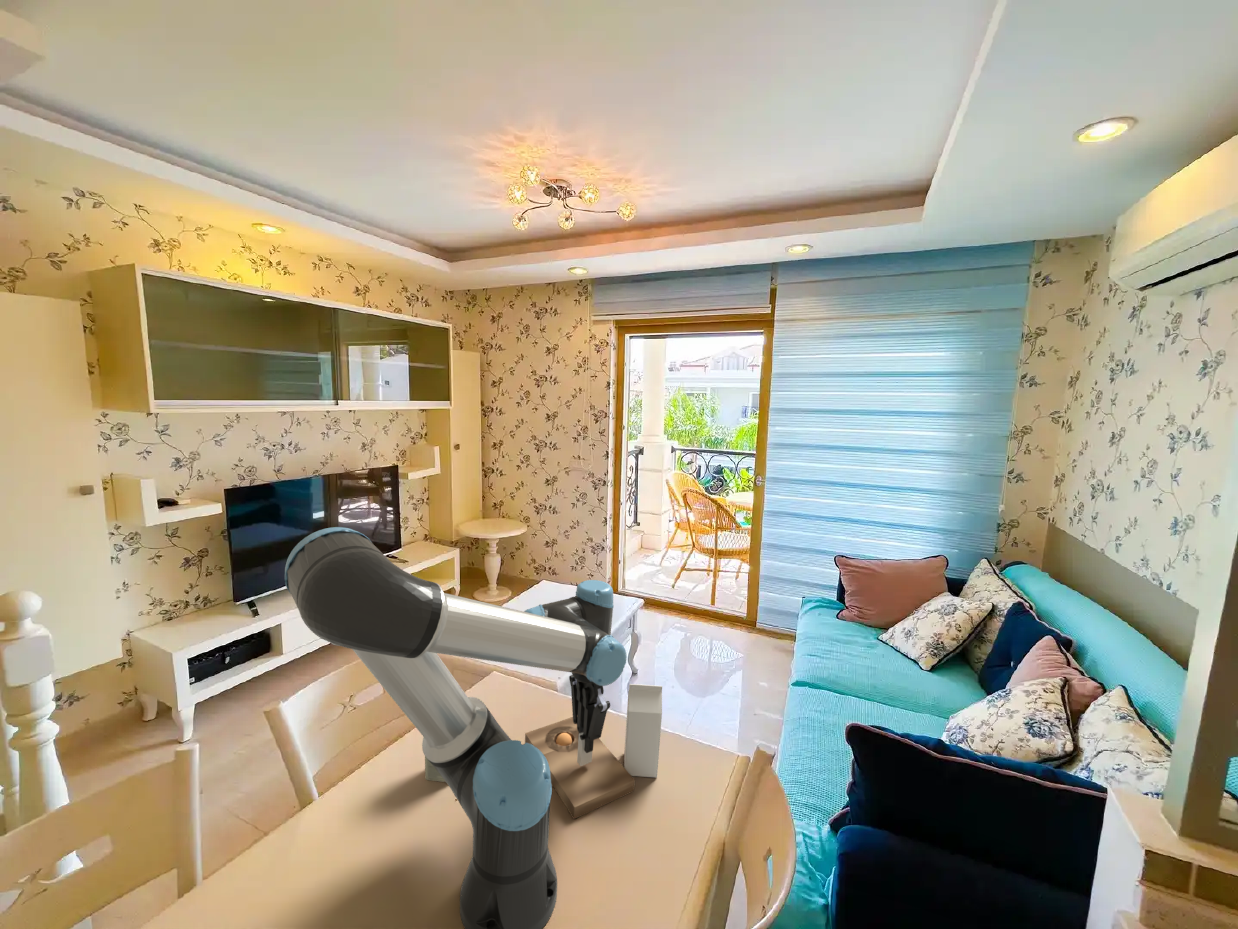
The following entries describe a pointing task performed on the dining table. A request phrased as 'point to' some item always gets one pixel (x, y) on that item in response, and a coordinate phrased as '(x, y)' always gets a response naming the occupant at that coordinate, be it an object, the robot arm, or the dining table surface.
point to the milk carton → (643, 730)
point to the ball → (564, 739)
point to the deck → (580, 769)
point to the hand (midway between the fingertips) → (584, 761)
